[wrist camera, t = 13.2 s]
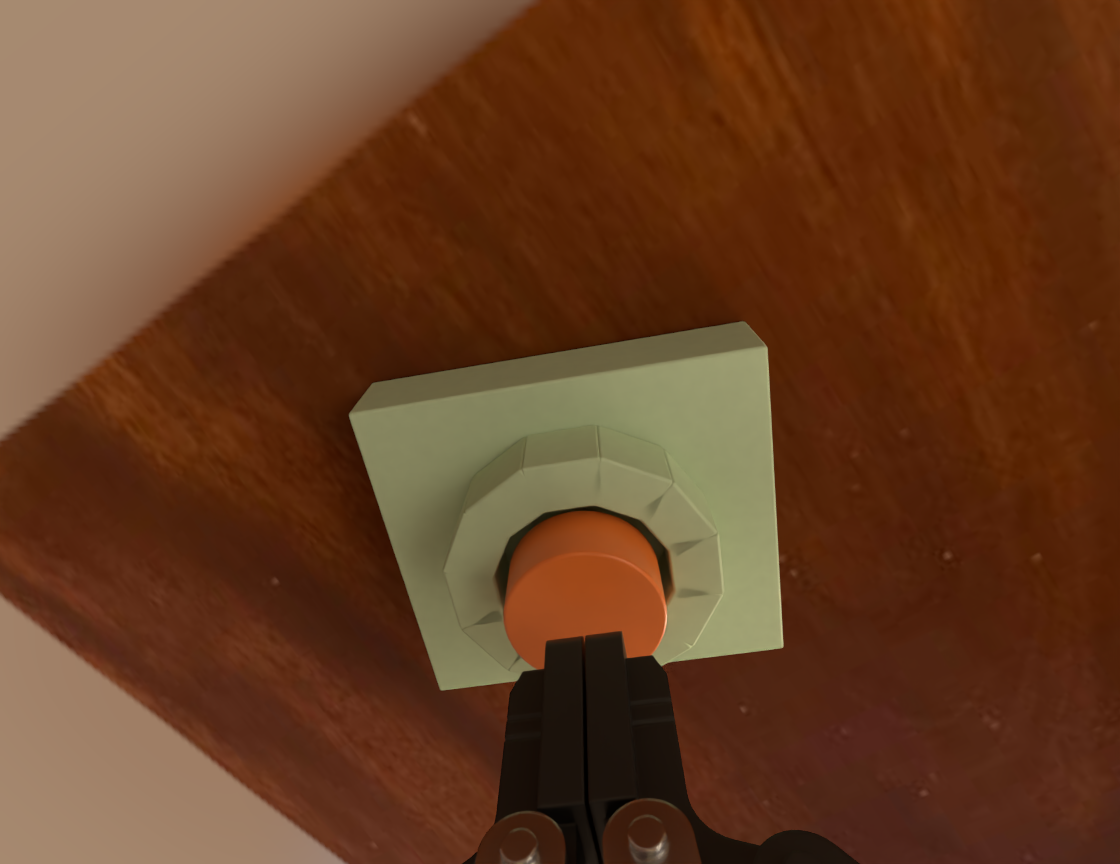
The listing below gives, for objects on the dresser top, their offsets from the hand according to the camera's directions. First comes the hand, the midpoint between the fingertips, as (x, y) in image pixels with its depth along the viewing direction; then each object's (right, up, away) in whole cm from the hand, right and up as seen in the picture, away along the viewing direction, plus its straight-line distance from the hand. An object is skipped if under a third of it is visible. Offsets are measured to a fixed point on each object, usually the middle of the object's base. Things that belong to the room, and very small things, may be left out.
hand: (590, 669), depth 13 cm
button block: (0, +3, +6) cm, 7 cm away
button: (0, +1, +3) cm, 3 cm away
